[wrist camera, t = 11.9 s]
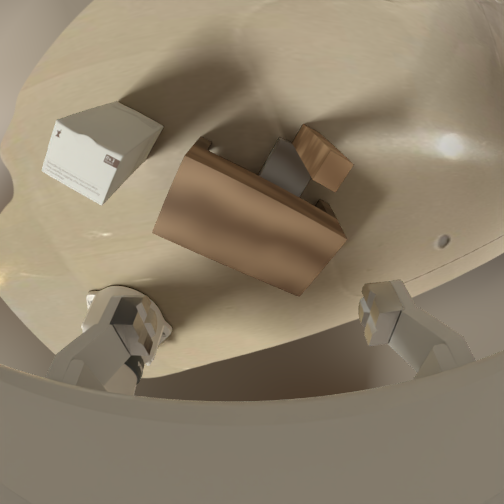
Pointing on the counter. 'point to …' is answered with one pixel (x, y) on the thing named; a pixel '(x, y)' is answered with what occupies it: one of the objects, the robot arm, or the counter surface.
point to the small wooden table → (247, 222)
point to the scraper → (305, 163)
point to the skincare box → (99, 149)
